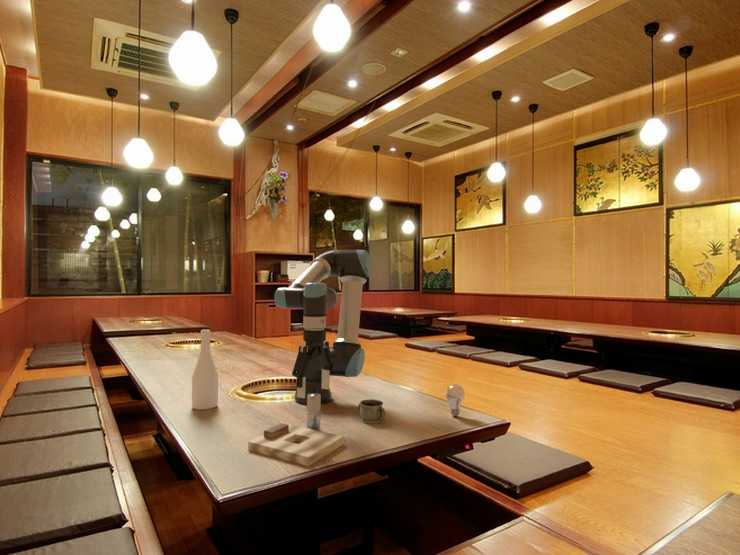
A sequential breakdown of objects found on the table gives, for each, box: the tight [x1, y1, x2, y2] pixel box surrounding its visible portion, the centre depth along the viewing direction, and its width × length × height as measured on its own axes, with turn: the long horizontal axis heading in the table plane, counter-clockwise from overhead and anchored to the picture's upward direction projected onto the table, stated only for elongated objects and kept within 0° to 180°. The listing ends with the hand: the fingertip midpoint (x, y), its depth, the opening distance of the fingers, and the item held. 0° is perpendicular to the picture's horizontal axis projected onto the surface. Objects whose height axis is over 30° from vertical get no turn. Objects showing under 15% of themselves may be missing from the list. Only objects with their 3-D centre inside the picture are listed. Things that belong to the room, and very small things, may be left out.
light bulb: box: [445, 383, 465, 418], centre depth 165 cm, size 7×7×12 cm
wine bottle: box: [191, 329, 219, 411], centre depth 173 cm, size 10×10×30 cm
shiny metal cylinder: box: [306, 393, 322, 431], centre depth 148 cm, size 4×4×12 cm
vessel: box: [357, 398, 386, 424], centre depth 161 cm, size 12×9×6 cm
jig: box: [247, 422, 345, 467], centre depth 134 cm, size 22×18×4 cm
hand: (313, 393), depth 148 cm, fingers open, 13 cm apart
